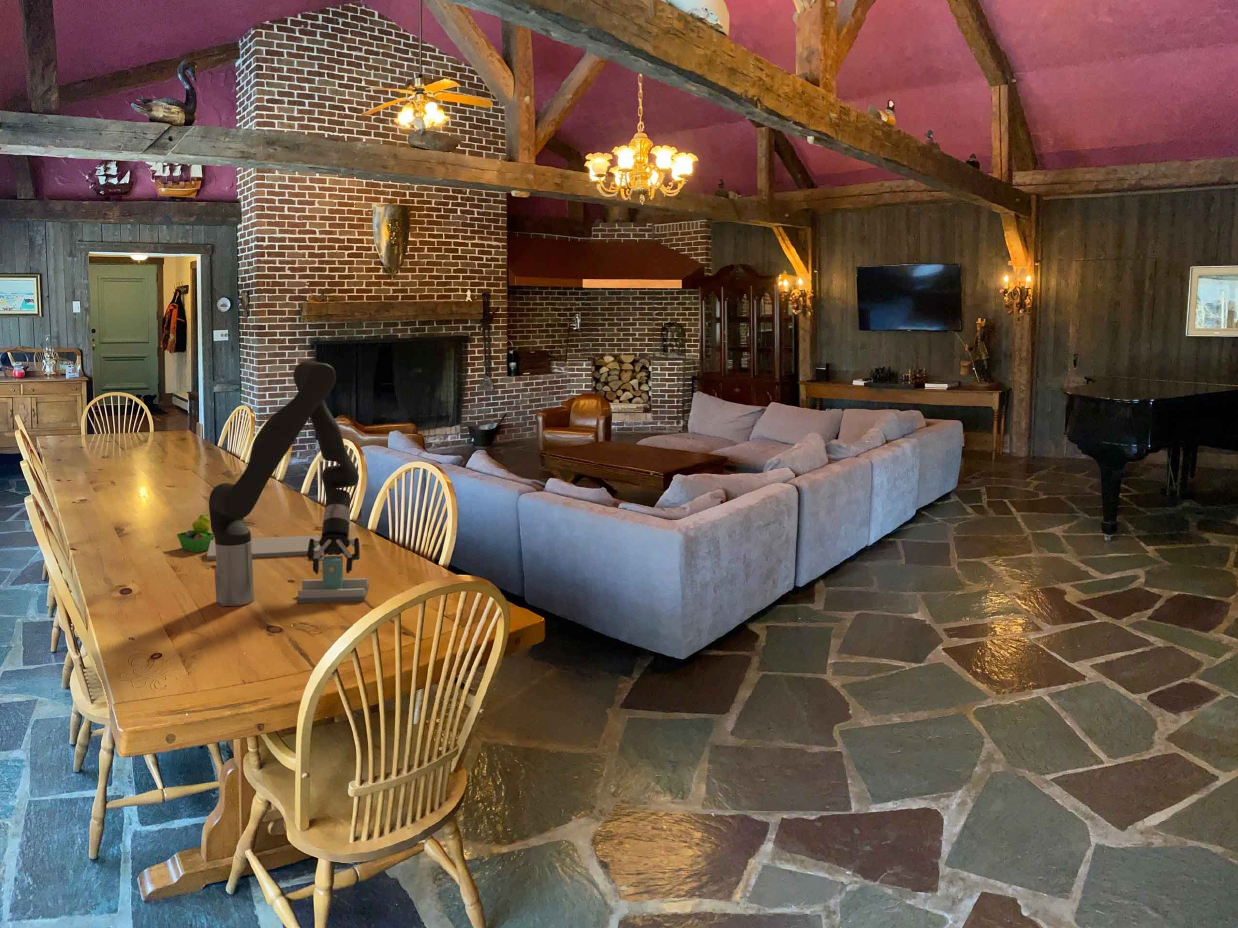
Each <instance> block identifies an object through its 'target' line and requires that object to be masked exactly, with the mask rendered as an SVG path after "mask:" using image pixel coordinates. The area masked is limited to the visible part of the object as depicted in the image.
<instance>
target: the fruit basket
mask: <svg viewBox="0 0 1238 928" xmlns="http://www.w3.org/2000/svg"><path fill="white" fill-rule="evenodd" d="M191 527H192V528H193V529H190V530H187V531H185V532H184V531H183V532H179V533H176V536H177V538H178V541H179V543H180V547H181V548H182V549H183V550H187V551H191V552H194V553H202V552H206V551H207V552H208V549H209V545H210V541H211V540H215V537H214V535H213V533H210V532H209V530H210V529H211V522H210V517H209V515H208V514H204V513H203V514H200V515H199V517H198V518H197V519H195V520H194V521H193V522H192V524H191Z"/></svg>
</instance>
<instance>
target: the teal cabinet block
mask: <svg viewBox="0 0 1238 928" xmlns="http://www.w3.org/2000/svg"><path fill="white" fill-rule="evenodd" d="M343 556H344V555H328V556H327V555H326V556H324V558H322V559H321V565H322V566H321V567H322V570H321V571H322V579H323V589H344V586H343V579H344V565H343V564H344V563H343V561H344V559H343V558H344V557H343Z"/></svg>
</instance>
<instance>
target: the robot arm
mask: <svg viewBox="0 0 1238 928" xmlns="http://www.w3.org/2000/svg"><path fill="white" fill-rule="evenodd" d="M336 381H337V374H336V370H335V368H334V367H333V366H331V364H328V363H325V362H318V361H310V360H308V361H306V360H305V361H301V362H299V363H298V364H297V365H296V366H295V368H294V371H293V382H294V385H295V387H296V389H297V394H295V396H294V397H293V398H292V400H290V401H289V402H288V403H286V404H285V405H284V406H283V407H282V408H280V409H279V410H277V411H276V412H275V413H273V415H271V416H270V417H269V418H268V419H267V421H266V422H265V423H264V424H263V426H262V427H261V429H260V430H259V431H258V433H257V435H256V437H255V438H254V440H253V443H252V446H251V451H250V454H249V455H250V456H249V460H248V463H247V466H246V468H245V469H244V470H243V473H242V474H241V476H240V477H239V479H238V480H237V481H236V482H235V483H230V482H223V483H219V484H217V485H216V486H215V487H214V488H213V489H212V490H211V492H210V493H209V498H208V499H209V500H208V510H209V519H210V529H211V532H212V533H211V534H213V535H214V540H215V548H216V560H215V562H216V563H215V564H216V565H215V566H216V567H215V568H214V579H215V581H214V583H215V598H216V600H215V601H216V603H218V604H219V605H220V607H236V606H237V607H238V606H243V605H244V606H245V605H247V604H250V603H252V602H254V600H255V591H254V575H253V574H254V573H253V571H254V570H253V558H252V548H251V538H252V534H251V530H250V529H249V528H248V526H247V525H246V523H245V520H244V518H246V517H248V516H249V515H250V513H251V512H252V511H253V509H254V508H255V507H256V505H257V503H258V500H259V499H260V496H261V494H262V493H263V491H264V489H265V486H266V485H267V483H268V481H269V480H270V479H271V477H272V475H273V474H274V472H275V471H276V469H277V468H278V466H279V464H280V463H281V461H282V460H283V459H284V458H285V456H286V454H287V453H288V451H289V450H290V448H291V447H292V445H294V443H295V440H296V439H297V438H298V436H299V434H300V433H301V431H302V430H303V428H304V427H305V426H306V424H307V423H308V421H309V420H310V421H311V423H312V426H313V428H314V432H315V435H316V439H317V442H318V447H319V449H320V453H321V457H322V459H323V460H324V461H326V462H336V463H337V465H330V466H327V467H325V468H324V469H323V471H322V472H321V479H322V484H323V487H324V492H325V505H324V513H323V518H322V529H321V538H320V541H315V540H314V539H310V541H309V547H308V552H307V555H306V557H307V560H308V561H309V562H312V570H313V572H314V573H315V575H318V574H319V572H320V571H319V570H320V561H322V560H323V558H324V556H327V555H328V556H341V554H342V556H344V558H346V566H345V571H346V572H345V573H346V574H350V572H352V570H353V562H354V561H356V560H357V561H358V560H360V556H361V555H360V554H361V553H360V550H361V549H360V547H361V546H360V543H361V542H360V539H359V537H354V539H349V538H350V537H349V536H350V526H351V525H350V524H351V513H350V511H351V510H350V509H351V495H350V493H349V492H348V491H347V490H344V489H345V488H352V487H355V486H356V485H357V484H358V482H359V477H360V476H359V472H358V469H357V467H356V466H355V463H354V462H353V461H352V459H351V457H350V456H349V453H348V452H347V449H346V446H345V442H344V439H343V435H342V432H341V429H340V427H339V424H338V423H337V421H336V420H335V417H334V416H333V415H332V413H331V412H330V410H329V408H328V405H327V403H326V401H325V399H326V398H327V396H328V395H330V393H331V392H332V390H333V388H334V386H335V384H336ZM342 488H344V489H342ZM318 545H320V549H319V550H318V552H317V553H316V554H315V555H313V554H314V548H317V546H318ZM349 546H352V548H354V553H351V551H349V549H348V548H349Z"/></svg>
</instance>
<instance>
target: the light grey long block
mask: <svg viewBox="0 0 1238 928" xmlns="http://www.w3.org/2000/svg"><path fill="white" fill-rule="evenodd" d="M310 539H314V540H315V541H320V539H321V538H320V535H317V534H316V535H300V536H299V535H295V536H276V537H275V536H274V537H270V536H269V537H255V538H254V537H253V538H252V537H251V548H252V559H256V558H277V557H278V558H279V557H292V556H293V557H295V556H297V555H298V556H307V552H308V547H309V541H310ZM320 548H321V546H320V545H318V546H317V548H314V554H313V555H315V554H316V553H317V552H318V550H319V549H320ZM298 556H297V557H298ZM206 558H207V561H216V548H215V539H213V540H211V541H210V545H209V549H208V550H207V554H206Z"/></svg>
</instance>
